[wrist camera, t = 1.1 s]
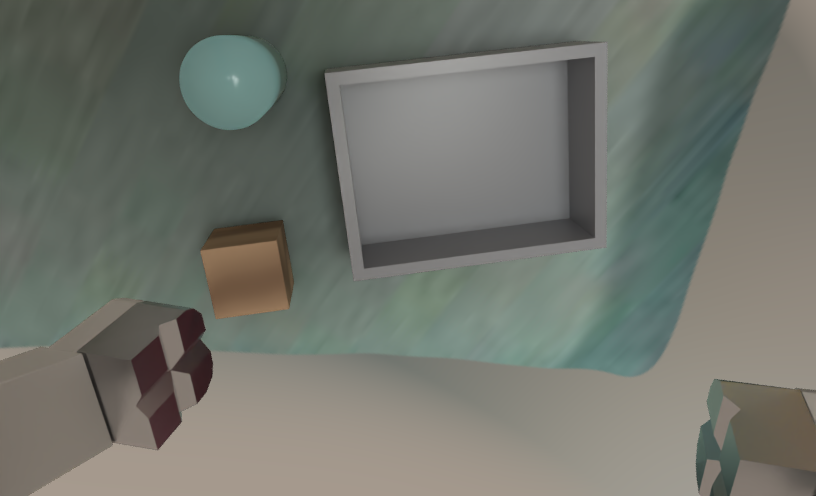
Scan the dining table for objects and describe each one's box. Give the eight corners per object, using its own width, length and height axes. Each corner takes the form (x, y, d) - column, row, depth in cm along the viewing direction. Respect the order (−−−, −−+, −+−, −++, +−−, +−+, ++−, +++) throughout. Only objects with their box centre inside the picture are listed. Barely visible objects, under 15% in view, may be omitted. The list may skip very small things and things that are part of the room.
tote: (326, 68, 43) (324, 73, 37) (575, 41, 44) (607, 41, 38) (352, 253, 47) (353, 281, 42) (577, 224, 48) (606, 247, 43)
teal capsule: (204, 39, 41) (169, 40, 33) (280, 31, 41) (264, 30, 33) (219, 115, 43) (190, 135, 34) (292, 107, 43) (280, 124, 35)
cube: (214, 228, 45) (200, 250, 41) (282, 219, 46) (276, 240, 41) (228, 291, 47) (215, 319, 42) (294, 282, 47) (289, 309, 43)
